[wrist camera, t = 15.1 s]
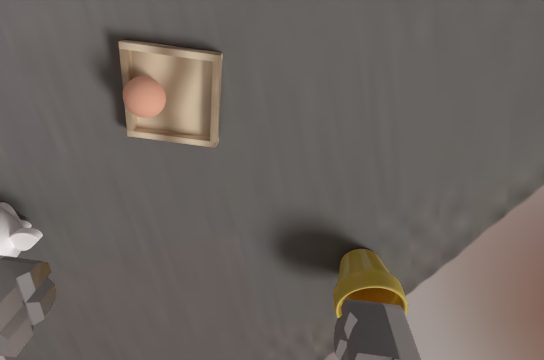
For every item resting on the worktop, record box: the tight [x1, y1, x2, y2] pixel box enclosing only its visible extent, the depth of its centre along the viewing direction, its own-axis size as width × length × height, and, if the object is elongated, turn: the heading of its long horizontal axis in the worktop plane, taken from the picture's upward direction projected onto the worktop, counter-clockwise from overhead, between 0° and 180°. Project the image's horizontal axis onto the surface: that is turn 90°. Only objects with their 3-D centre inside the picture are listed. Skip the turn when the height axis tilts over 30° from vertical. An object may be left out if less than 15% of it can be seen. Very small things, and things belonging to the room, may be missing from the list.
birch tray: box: [118, 39, 223, 148], centre depth 44 cm, size 12×12×2 cm
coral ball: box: [123, 76, 166, 118], centre depth 42 cm, size 5×5×5 cm
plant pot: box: [334, 249, 408, 318], centre depth 53 cm, size 10×10×10 cm
